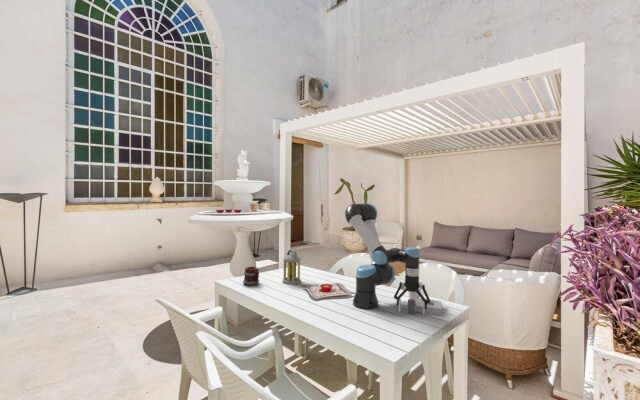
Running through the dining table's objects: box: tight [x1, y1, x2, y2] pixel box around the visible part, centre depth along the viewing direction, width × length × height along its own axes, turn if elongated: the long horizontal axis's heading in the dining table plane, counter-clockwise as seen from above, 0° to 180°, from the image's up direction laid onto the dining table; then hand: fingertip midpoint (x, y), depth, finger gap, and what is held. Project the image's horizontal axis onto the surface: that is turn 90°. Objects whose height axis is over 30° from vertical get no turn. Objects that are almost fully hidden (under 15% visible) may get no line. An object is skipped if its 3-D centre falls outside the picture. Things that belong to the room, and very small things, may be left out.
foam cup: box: [407, 278, 423, 303], centre depth 192 cm, size 10×9×13 cm
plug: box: [406, 298, 416, 316], centre depth 171 cm, size 4×4×8 cm
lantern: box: [281, 248, 302, 285], centre depth 231 cm, size 14×14×25 cm
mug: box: [242, 266, 260, 287], centre depth 223 cm, size 12×14×15 cm
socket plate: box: [415, 297, 443, 316], centre depth 177 cm, size 14×14×4 cm
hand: (411, 312), depth 171 cm, fingers open, 12 cm apart
